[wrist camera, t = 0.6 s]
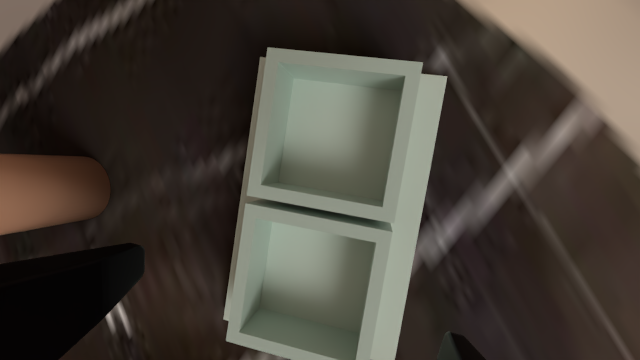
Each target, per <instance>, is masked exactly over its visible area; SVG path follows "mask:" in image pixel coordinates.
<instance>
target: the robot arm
mask: <svg viewBox="0 0 640 360" xmlns="http://www.w3.org/2000/svg"><path fill="white" fill-rule="evenodd" d="M144 269H145V250H144V247H143V246H141V245H137V244H134V243H126V244H120V245H114V246H107V247H101V248H95V249H89V250H83V251H77V252H70V253H64V254H58V255H52V256H46V257H40V258H33V259H27V260H21V261H15V262H9V263H2V264H0V360H59V359H60V358H61V357H62V356H63V355H64V354H65V353H66V352H67V351H68V350H70V349H71V348H72V347H73V346H74V345H75V344H76V343H77V342H78V341H79V340H80V339H82V338H83V337H84V336H85V335H86V334H87V333H88V332H89V331H90V330H91V329H93V328H94V327H95V326H96V325H97V324H98V323H99V322H100V321H101V320H102V319H103V318H104V317H105V316H106V315H107V314H108V313H109V312H110V311H111V310H112V309H113V308H114V307H115V305H116V304H117V303H118V302H119V301H120V300H121V299H122V298H123V297H124V296H125V295H126V294H127V293H128V291H129V290H130V289H131V288H132V287H133V286H134V285H135V284H136V283H137V282H138V281H139V280H140V278H141V277H142V275H143V273H144ZM437 360H486V359H485V358H484V357H483V356H482V355H481V354H480V353H479V352H478V351H477V350H476V348H475V347H474V346H473V345H472V344H471V343H470V342H469V341H468V340H467V339H466V338H465V337H464V336H462V335H459V334H456V333H452V332H447V333H446V334H445V335H444V338H443V342H442V345H441V348H440V351H439V354H438V358H437Z"/></svg>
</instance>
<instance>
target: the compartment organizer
mask: <svg viewBox="0 0 640 360" xmlns="http://www.w3.org/2000/svg"><path fill="white" fill-rule="evenodd" d="M422 66H423V62H412V61H402V60H392V59H382V58H371V57H361V56H351V55H341V54H331V53H320V52H310V51H300V50H290V49H280V48H269V47H268V48H267V55H266V58H265V57H260V62H259V69H258V76H257V84H256V91H255V98H254V105H253V112H252V119H251V126H250V133H249V140H248V148H247V155H246V162H245V169H244V176H243V183H242V190H241V197H240V205H239V212H238V219H237V226H236V233H235V240H234V247H233V254H232V261H231V269H230V276H229V283H228V290H227V297H226V304H225V311H224V318H223V320H227V321H229V323H228V330H227V337H226V341H228V342H231V343H235V344H238V345H242V346H246V347H249V348H253V349H256V350H260V351H263V352H267V353H270V354H274V355H277V356H281V357H284V358H288V359H291V360H370V359H372V360H395V355H396V350H397V345H398V339H399V334H400V328H401V323H402V318H403V312H404V307H405V301H406V296H407V291H408V285H409V280H410V275H411V269H412V264H413V258H414V253H415V248H416V242H417V237H418V231H419V226H420V221H421V215H422V210H423V205H424V199H425V194H426V188H427V183H428V178H429V172H430V167H431V161H432V156H433V151H434V145H435V140H436V134H437V129H438V124H439V118H440V113H441V108H442V102H443V97H444V91H445V86H446V81H447V76H438V75H429V74H421V71H422Z"/></svg>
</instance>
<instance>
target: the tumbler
mask: <svg viewBox="0 0 640 360" xmlns="http://www.w3.org/2000/svg"><path fill="white" fill-rule="evenodd" d="M110 191H111V188H110V181H109V177H108V175H107V173H106V171H105V169H104V168H103V167H102V165H101V164H100V163H98V162H97V161H96V160H94V159H92V158H89V157H83V156H54V155H24V154H0V235H4V234H10V233H15V232H21V231H26V230H32V229H37V228H43V227H48V226H54V225H59V224H65V223H70V222H76V221H81V220H87V219H91V218H94V217H96V216H98V215H99V214H101V213H102V212H103V210H104V209H105V208H106V206H107V204H108V202H109V198H110Z"/></svg>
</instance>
